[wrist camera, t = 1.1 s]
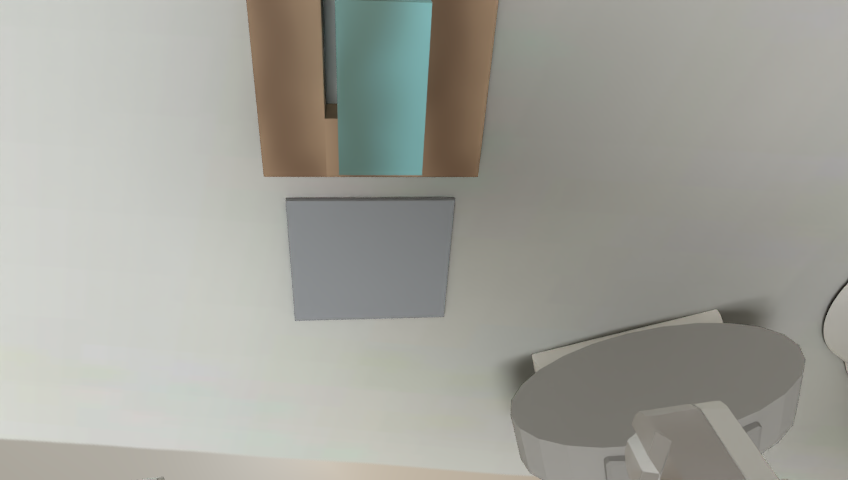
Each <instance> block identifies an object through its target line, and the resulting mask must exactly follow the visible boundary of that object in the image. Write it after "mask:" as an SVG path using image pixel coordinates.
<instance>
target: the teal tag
mask: <svg viewBox="0 0 848 480" xmlns="http://www.w3.org/2000/svg"><path fill="white" fill-rule="evenodd" d="M431 17H432V1H431V0H335V25H336V68H337V111H338V154H339V175H422V167H423V150H424V134H425V117H426V101H427V84H428V67H429V51H430V34H431Z"/></svg>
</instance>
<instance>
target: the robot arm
mask: <svg viewBox="0 0 848 480" xmlns="http://www.w3.org/2000/svg"><path fill="white" fill-rule="evenodd" d="M824 339H825V342H826V344H827V346H828V348H829V349H830V350H831V351H832V352H833V353H834V354H835V355H837V356H838V357H839V358H841V359H842V360H843V361H844V362H845V366H846V370H847V373H848V284H847V285H846V286H845V287H844V288H843V289H842V291H841V292H840V293H839V294H838V296H837V297H836V299H835V300H834V302H833V303H832V305H831V307H830V309H829V311H828V313H827V316H826V319H825V323H824ZM632 426H633V428H634V430H635V432H636V433H635V434H634V435H633V436H632V437H631V438H629V439H628V440H627V444H626V448H625V462H626V469H627V472H628V475H629V479H630V480H779V478H778V477H777V476H776V474H775V473H774V471H773V470H772V469H771V467H770V466H769V464H768V463H767V462H766V460H765V459H764V457H763V456H762V454H761V453H760V452H759V450H758V449H757V447H756V446H755V445H754V443H753V442H752V440H751V439H750V438H749V436H748V435H747V433H746V432H745V431H744V429H743V428H742V426H741V425H740V424H739V422H738V421H737V419H736V418H735V416H734V415H733V414H732V412H731V411H730V409H729V408H728V407H727V405H725V404H724V403H723V402H721V401H710V402H703V403H697V404H684V405H677V406H671V407H664V408H658V409H651V410H645V411H639V412H638V413H637V414H636V415H635V416H634V419H633V422H632ZM139 480H164V477H155V478H147V479H139ZM782 480H788V479H782Z"/></svg>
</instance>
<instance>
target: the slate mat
mask: <svg viewBox="0 0 848 480" xmlns="http://www.w3.org/2000/svg"><path fill="white" fill-rule="evenodd" d="M454 204H455V199H454V198H286V212H287V225H288V237H289V250H290V263H291V275H292V288H293V301H294V313H295V321H305V320H344V319H382V318H421V317H444V309H445V298H446V288H447V277H448V267H449V256H450V246H451V235H452V225H453V214H454Z"/></svg>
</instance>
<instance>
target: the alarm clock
mask: <svg viewBox="0 0 848 480" xmlns="http://www.w3.org/2000/svg"><path fill="white" fill-rule="evenodd" d="M532 359H533V364H534V370H535V374H534V375H532V376H531V377H530V378H529V379H528V380H527V381H525V382H524V383H523V384H522V385H521V386H520V388H519V389H518V391H517V392H516V394H515V396H514V397H513V399H512V400H511V419H512V423H513V427H514V432H515V436H516V440H517V445H518V449H519V453H520V457H521V460H522V461H523V463H524V465H525V466H526V468H527V469H528V471H529V472H530V473H531V474H533V475H535V476H536V477H538V478H540V479H542V480H630V479H629V475H628V472H627V469H626V462H625V448H626V444H627V440H628V439H629V438H631V437H632V436H633V435H634V434H635V433H636V432H635V430H634V428H633V426H632V422H633V419H634V416H635V415H636V414H637V413H638V412H639V411H645V410H651V409H658V408H664V407H671V406H677V405H684V404H697V403H703V402H710V401H721V402H723V403H724V404H725V405H727V407H728V408H729V409H730V411H731V412H732V414H733V415H734V416H735V418H736V419H737V421H738V422H739V424H740V425H741V426H742V428H743V429H744V431H745V432H746V433H747V435H748V436H749V438H750V439H751V440H752V442H753V443H754V445H755V446H756V447H757V449H758V450H759V452H760V453H761V454H762V453H763V452H765V451H766V450H768V449H769V448H771V447H772V446H774V445H775V444H777V443H778V442H779V441H780V440H781V438H782V437H783V436H784V435H785V434H786V433H787V431H788V430H789V429H790V428H791V427H792V425H793V422H794V418H795V414H796V410H797V405H798V400H799V394H800V388H801V383H802V377H803V371H804V366H805V357H804V355H803V353H802V351H801V348H800V346H799V345H798V344H796V343H795V342H794V341H792V340H791V339H789V338H788V337H786V336H785V335H784V334H781V333H778V332H774V331H771V330H768V329H765V328H762V327H757V326H750V325H742V324H734V323H723V321H722V318H721V315H720V313H719V312H718V311H717V309H715V310H711V311H707V312H703V313H699V314H695V315H691V316H687V317H683V318H678V319H674V320H670V321H666V322H662V323H658V324H654V325H650V326H646V327H642V328H638V329H634V330H630V331H625V332H621V333H617V334H613V335H609V336H605V337H601V338H597V339H593V340H589V341H585V342H581V343H577V344H572V345H568V346H564V347H560V348H556V349H552V350H548V351H544V352H540V353H536V354H532Z"/></svg>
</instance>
